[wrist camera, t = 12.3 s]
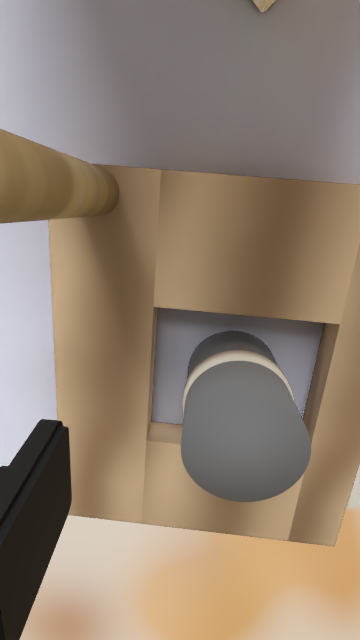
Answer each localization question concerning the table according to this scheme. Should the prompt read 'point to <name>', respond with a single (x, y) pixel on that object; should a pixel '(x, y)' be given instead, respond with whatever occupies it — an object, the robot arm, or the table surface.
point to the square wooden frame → (198, 295)
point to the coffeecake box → (263, 4)
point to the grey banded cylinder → (241, 421)
